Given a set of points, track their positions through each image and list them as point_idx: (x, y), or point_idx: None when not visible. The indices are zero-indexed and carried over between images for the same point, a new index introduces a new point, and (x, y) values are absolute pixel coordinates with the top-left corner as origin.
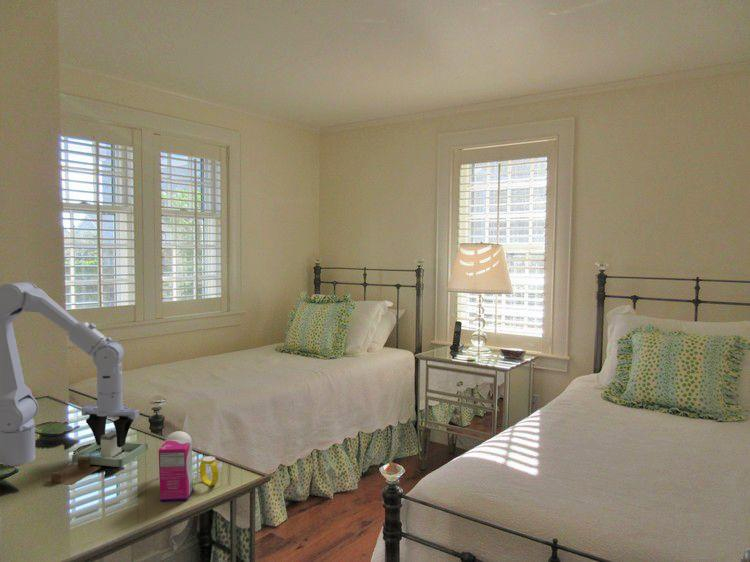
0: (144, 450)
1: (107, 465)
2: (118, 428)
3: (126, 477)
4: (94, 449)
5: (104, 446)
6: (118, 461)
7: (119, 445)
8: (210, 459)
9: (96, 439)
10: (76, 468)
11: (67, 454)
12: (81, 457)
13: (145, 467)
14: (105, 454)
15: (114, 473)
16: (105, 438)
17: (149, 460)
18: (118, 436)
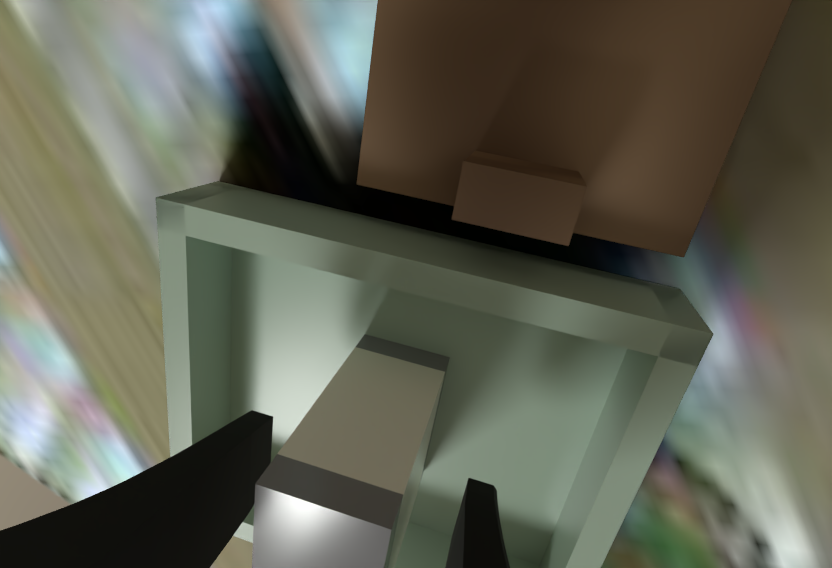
0: None
1: (321, 215)
2: (26, 551)
3: (103, 34)
4: (570, 521)
5: (379, 422)
6: (193, 200)
7: (239, 418)
8: None
9: (484, 531)
10: (580, 143)
11: (821, 529)
12: (559, 238)
13: (95, 232)
14: (394, 372)
15: (233, 115)
16: (331, 485)
17: (141, 348)
18: (164, 478)
